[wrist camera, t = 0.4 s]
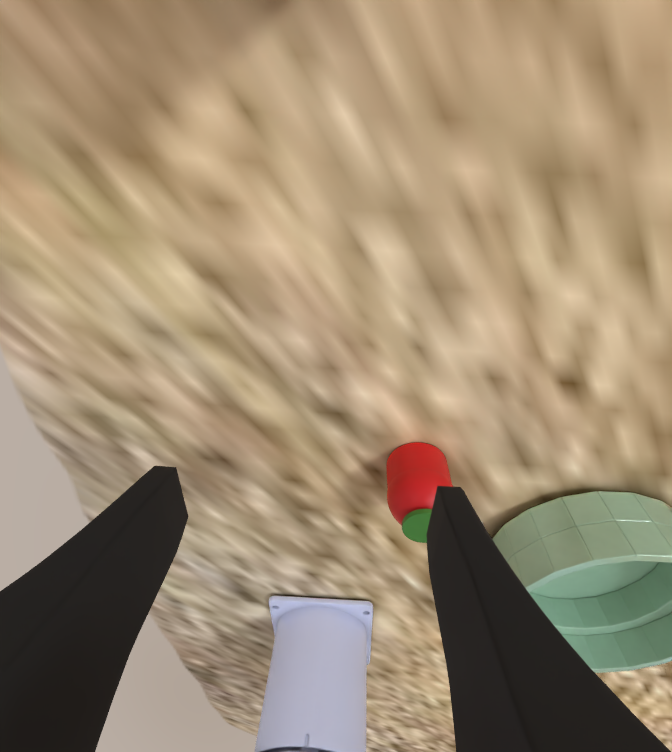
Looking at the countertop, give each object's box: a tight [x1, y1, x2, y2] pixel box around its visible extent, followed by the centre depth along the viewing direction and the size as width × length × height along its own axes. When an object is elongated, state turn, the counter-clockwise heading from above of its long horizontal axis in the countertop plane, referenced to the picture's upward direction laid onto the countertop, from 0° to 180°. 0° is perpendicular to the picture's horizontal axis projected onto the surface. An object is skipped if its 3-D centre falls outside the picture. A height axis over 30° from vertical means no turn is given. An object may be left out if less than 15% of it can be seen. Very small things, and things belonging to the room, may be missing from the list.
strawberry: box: [387, 443, 453, 543], centre depth 21 cm, size 4×4×4 cm
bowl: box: [492, 491, 672, 673], centre depth 24 cm, size 12×12×4 cm
